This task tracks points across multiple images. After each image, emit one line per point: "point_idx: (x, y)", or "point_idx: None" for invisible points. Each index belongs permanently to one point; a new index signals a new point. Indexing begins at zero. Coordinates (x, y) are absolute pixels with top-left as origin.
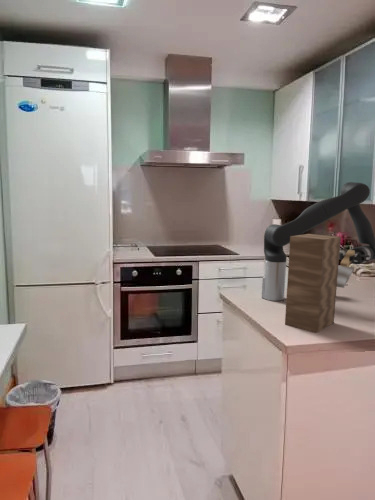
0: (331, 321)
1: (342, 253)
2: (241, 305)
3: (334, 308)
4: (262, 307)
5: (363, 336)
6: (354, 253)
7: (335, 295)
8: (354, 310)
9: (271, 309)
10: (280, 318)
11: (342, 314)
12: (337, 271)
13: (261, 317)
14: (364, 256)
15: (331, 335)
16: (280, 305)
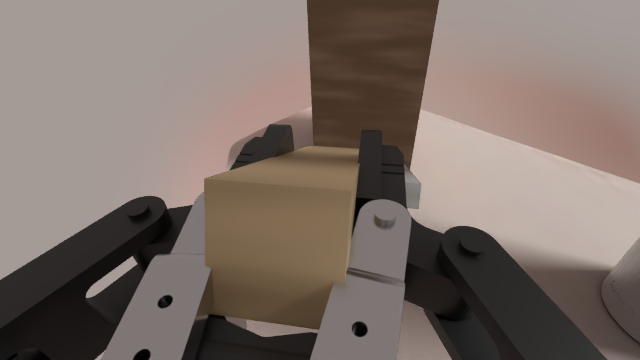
0: None
1: (478, 289)
2: (600, 177)
3: (314, 142)
4: (546, 191)
5: (243, 145)
6: (218, 235)
7: (312, 106)
8: None
9: (511, 189)
10: (436, 149)
11: None
12: (308, 23)
13: (471, 137)
14: (46, 263)
15: (303, 127)
16: (535, 236)
